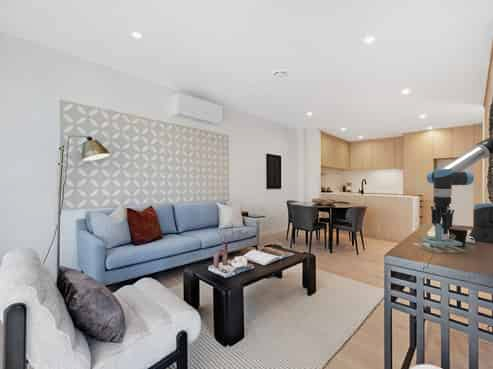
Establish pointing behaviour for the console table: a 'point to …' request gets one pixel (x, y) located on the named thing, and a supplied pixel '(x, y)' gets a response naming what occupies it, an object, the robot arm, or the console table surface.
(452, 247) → the boss board
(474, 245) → the console table surface
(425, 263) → the console table surface
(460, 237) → the coffee mug
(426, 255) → the console table surface
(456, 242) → the panel
